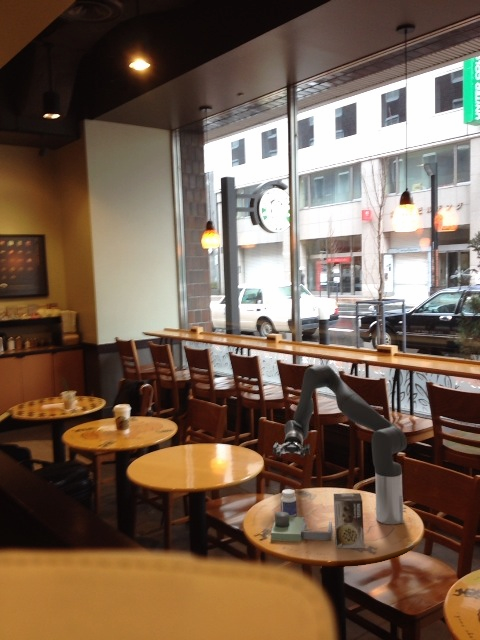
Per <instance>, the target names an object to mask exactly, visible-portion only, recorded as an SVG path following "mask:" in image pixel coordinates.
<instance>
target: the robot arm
mask: <svg viewBox="0 0 480 640" xmlns="http://www.w3.org/2000/svg"><path fill="white" fill-rule="evenodd" d="M321 388H328V389H329V390H330V391H332V392H333V394H334V395H335V399H336V405H337V408H338V410H339V411H340V413H342V414H343V415H344V417H346V418H347V419H348V420H349V421H351V422H353V423H355V424H357V425H359V426H362V427H364V428H366V429H369V430H370V431H373V433H372V435H371V452H372V454H371V455H372V464H373V466H374V473H375V508H376V509H375V513H376V514H375V515H376V516H375V517H376V521H378V522H379V523H381V524H384V525H398V524H404V497H403V472H402V471H403V470H402V469H403V468H402V465H401V464H400V463H398V462H395V461H393V454H398V453H400V452H402V451H405V450H406V448H407V446H408V441H407V436H406V435H405V433H404V432H403V431H402V430H401V429H400V428H399V427H398V426H397V425H395V424H394V423H392V422H391V421H390V420H388V419H387V418H385V417H384V416H383V415H381V414H380V413H379V412H378V411H376V410H375V409H374V407H372V406H371V405H369V403H367V401H366V400H364V399H363V398H362V397H361V396H360V395H359V394H358V393H356V392H355V391H354V390H353V389H351V387H349V385H347V383H346V382H344V381H343V379H342V378H341V377H340V376H339V375H338V373H336V371H335V370H334V369H333V368H332V367H331V366H329V365H328V364H319V365H313V366H309V367H307V369H305V372H304V373H303V378H302V384H301V390H300V397H299V400H298V403H297V405H296V408H295V410H294V414H293V419H292V420H291V419H290V420H288V421H286V423H285V425H284V429H283V430H284V435H285V438H284V440H283V443H282V444H279V443H278V442H275V443H274V445H273V446H272V454H276V456H278V458H279V457H281V455H282V454H283V455H284V454H287V453H288V454H289V455H295V454H298V455H300V457H299V458H303V457H305V455H310V443H306V444H305V445H303V444H304V440H306V439H307V438H308V436H309V431H310V426H309V424H310V421H311V417H312V416H313V413H314V407H315V406H314V400H313V393H314V392H315V391H316V389H317V390H318V389H321Z"/></svg>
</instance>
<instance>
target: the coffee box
mask: <svg viewBox="0 0 480 640" xmlns="http://www.w3.org/2000/svg"><path fill="white" fill-rule="evenodd" d="M363 508H364V507H363V498H362V494H361V493H360V492H359V493H355V492H354V493H333V509H334V510H333V512H334V513H333V515H334V541H335V547H336V549H365V533H364V510H363Z"/></svg>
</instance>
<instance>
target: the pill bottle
mask: <svg viewBox="0 0 480 640" xmlns="http://www.w3.org/2000/svg"><path fill="white" fill-rule="evenodd" d="M281 495H282V496H281V498H280V509H281V510H280V512H286V513H288V514H289V517H298V509H297V508H298V507H297V506H298V505H297V497H296V492H295V490H294V489H290V488H288V489H283V490H282V492H281Z"/></svg>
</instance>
